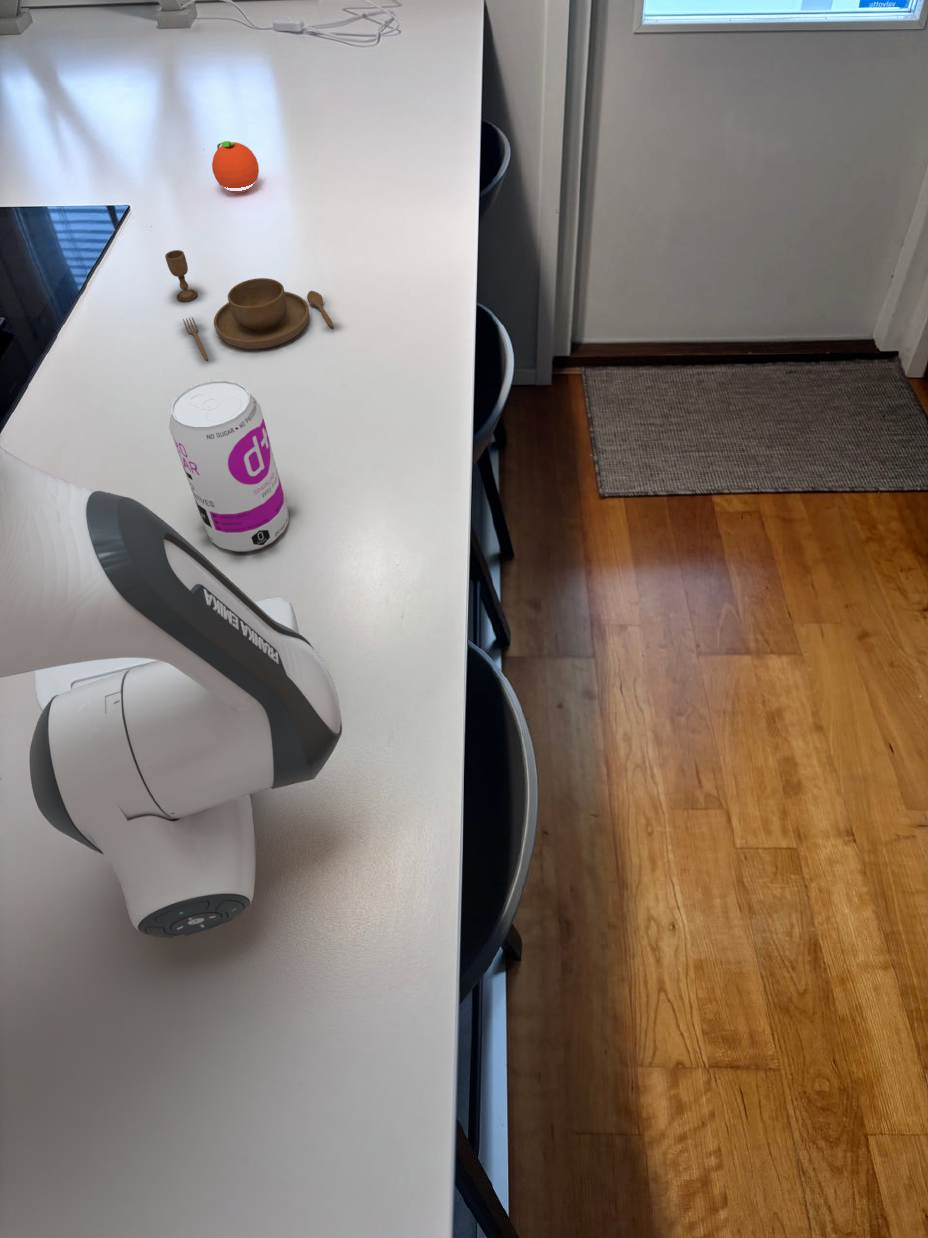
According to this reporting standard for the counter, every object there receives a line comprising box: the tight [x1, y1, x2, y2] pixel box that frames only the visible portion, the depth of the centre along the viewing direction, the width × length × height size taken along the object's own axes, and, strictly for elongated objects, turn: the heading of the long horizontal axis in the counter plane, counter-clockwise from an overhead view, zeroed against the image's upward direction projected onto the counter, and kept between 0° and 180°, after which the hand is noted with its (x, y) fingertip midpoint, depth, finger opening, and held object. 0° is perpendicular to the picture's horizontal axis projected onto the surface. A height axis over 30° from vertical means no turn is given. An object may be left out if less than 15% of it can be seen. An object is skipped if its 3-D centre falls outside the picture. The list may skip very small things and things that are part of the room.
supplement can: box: [168, 379, 290, 553], centre depth 90 cm, size 8×8×15 cm
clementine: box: [211, 140, 260, 194], centre depth 145 cm, size 8×7×7 cm
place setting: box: [164, 249, 334, 361], centre depth 120 cm, size 18×20×6 cm
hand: (166, 595), depth 79 cm, fingers open, 7 cm apart
